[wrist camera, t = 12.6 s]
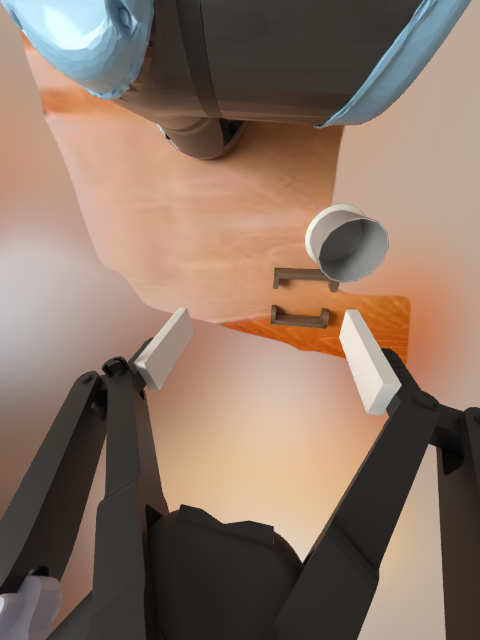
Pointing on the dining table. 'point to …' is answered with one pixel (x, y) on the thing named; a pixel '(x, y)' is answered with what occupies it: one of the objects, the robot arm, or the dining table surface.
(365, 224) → the cup
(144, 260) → the dining table surface
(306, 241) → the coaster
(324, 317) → the pocket holder
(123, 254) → the dining table surface
